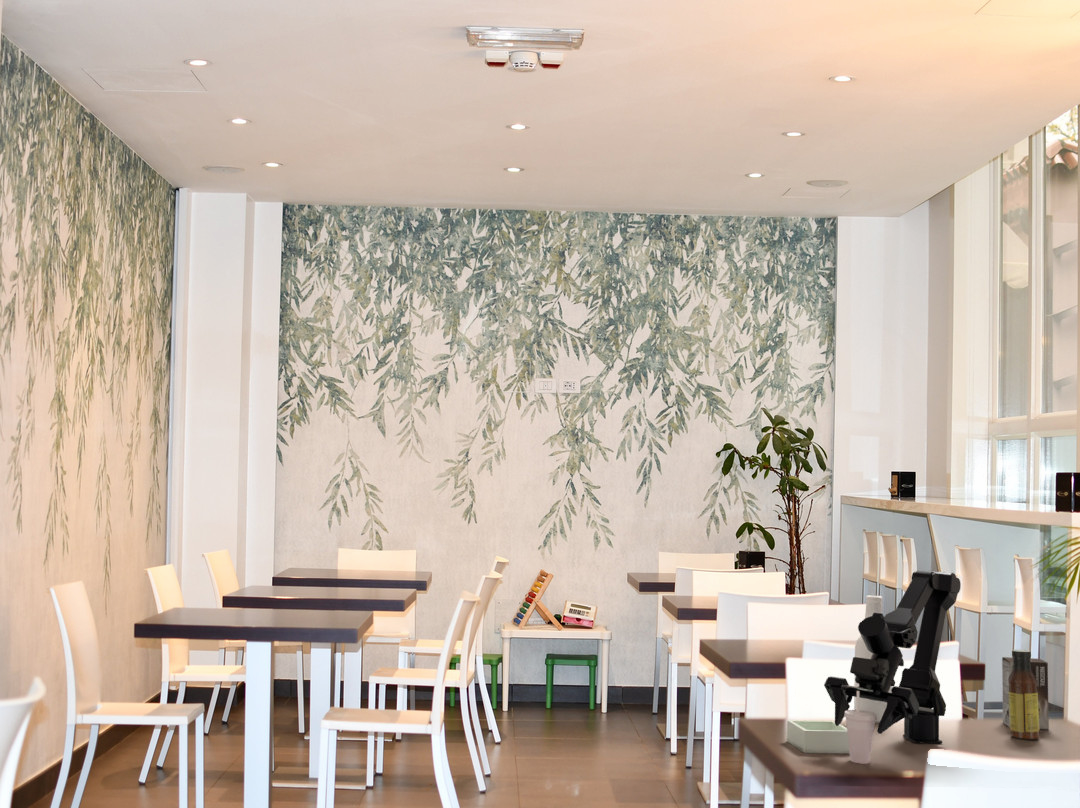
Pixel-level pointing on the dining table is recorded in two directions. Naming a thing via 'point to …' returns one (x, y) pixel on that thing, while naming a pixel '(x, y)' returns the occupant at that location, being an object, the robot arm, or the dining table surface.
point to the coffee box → (1041, 675)
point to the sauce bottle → (1023, 698)
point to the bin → (817, 736)
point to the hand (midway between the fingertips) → (857, 728)
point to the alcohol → (861, 652)
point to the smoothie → (860, 733)
